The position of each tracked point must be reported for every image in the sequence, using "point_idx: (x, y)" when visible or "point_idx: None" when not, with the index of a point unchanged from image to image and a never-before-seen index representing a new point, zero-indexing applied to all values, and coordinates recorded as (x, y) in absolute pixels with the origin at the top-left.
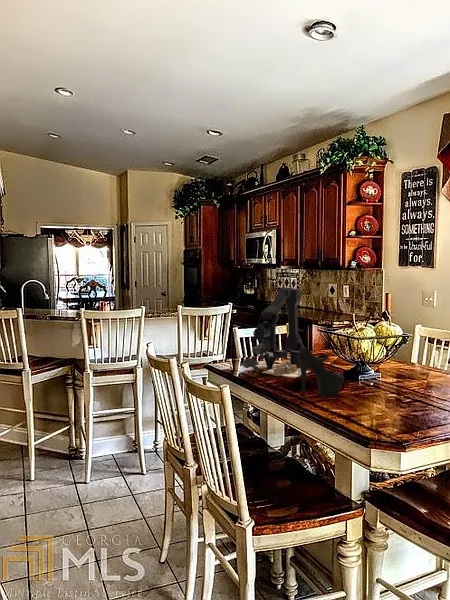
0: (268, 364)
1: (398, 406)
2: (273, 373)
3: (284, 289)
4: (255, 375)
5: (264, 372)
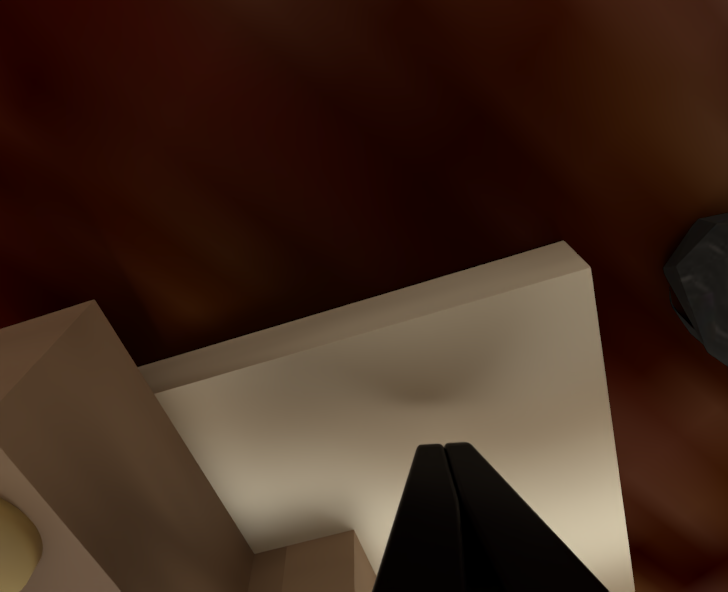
0: (446, 583)
1: None
2: (288, 422)
3: None
4: (659, 66)
5: (527, 325)
